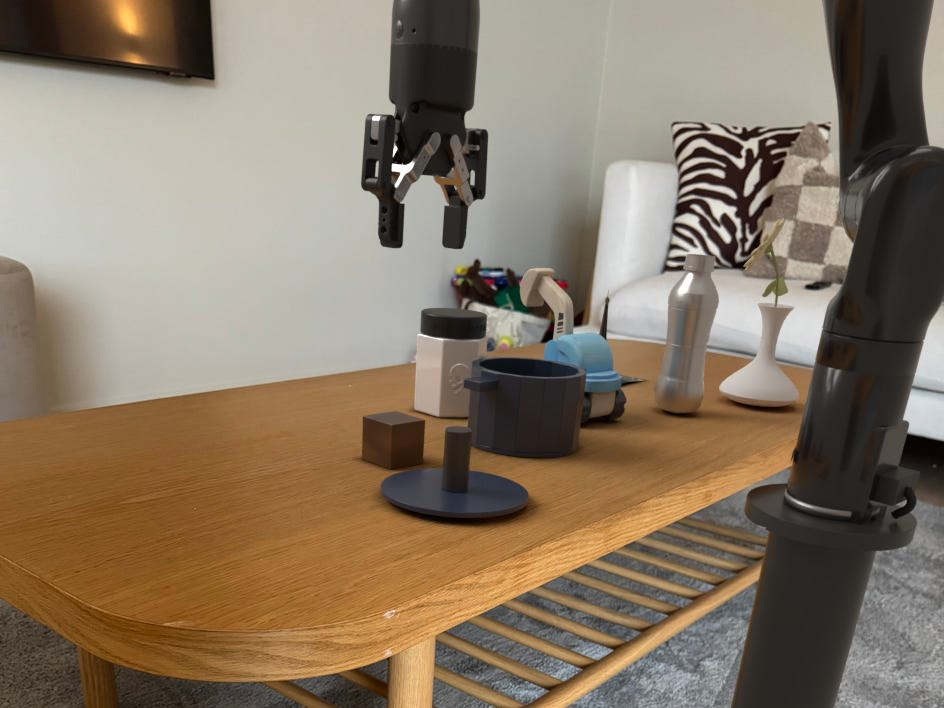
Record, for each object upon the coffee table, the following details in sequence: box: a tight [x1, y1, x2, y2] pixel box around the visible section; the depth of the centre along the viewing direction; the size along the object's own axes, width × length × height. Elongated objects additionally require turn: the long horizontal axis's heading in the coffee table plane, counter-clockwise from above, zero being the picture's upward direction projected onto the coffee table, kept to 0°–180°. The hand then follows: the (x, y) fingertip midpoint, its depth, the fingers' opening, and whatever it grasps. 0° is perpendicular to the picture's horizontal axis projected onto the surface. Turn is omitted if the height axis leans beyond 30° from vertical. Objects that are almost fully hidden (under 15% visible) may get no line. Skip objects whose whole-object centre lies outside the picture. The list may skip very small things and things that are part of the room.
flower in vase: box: [718, 217, 800, 408], centre depth 134 cm, size 13×11×25 cm
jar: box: [413, 307, 488, 419], centre depth 119 cm, size 9×8×12 cm
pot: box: [464, 356, 587, 459], centre depth 108 cm, size 13×18×8 cm
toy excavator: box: [519, 267, 627, 425], centre depth 122 cm, size 9×17×17 cm, turn 37°
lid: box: [380, 425, 530, 519], centre depth 87 cm, size 14×14×7 cm
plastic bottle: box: [653, 253, 720, 415], centre depth 126 cm, size 6×7×20 cm
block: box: [361, 410, 426, 470], centre depth 98 cm, size 4×4×4 cm
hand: (423, 248), depth 89 cm, fingers open, 8 cm apart
